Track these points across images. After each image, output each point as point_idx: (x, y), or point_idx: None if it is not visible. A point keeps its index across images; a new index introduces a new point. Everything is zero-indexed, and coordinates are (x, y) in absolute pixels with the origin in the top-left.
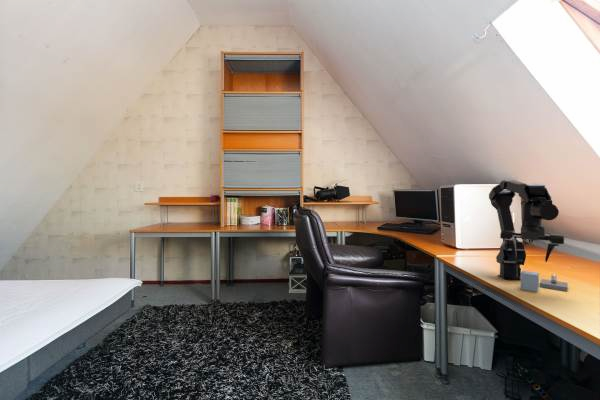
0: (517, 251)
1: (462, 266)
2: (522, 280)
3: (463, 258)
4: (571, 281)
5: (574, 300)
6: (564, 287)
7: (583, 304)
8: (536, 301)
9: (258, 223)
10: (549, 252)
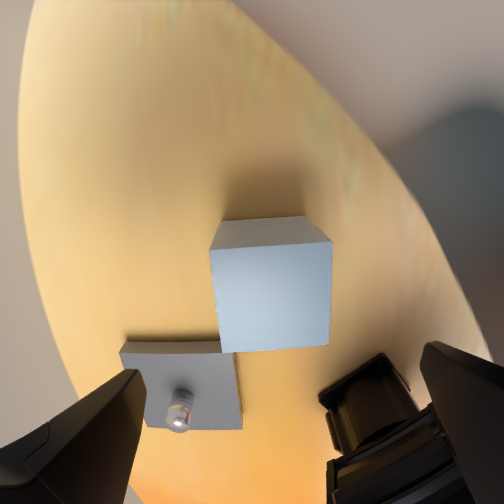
0: (388, 500)
1: None
2: (307, 227)
3: None
4: (172, 475)
5: (72, 212)
6: (128, 351)
7: (43, 174)
8: (197, 39)
9: None
10: (46, 433)
